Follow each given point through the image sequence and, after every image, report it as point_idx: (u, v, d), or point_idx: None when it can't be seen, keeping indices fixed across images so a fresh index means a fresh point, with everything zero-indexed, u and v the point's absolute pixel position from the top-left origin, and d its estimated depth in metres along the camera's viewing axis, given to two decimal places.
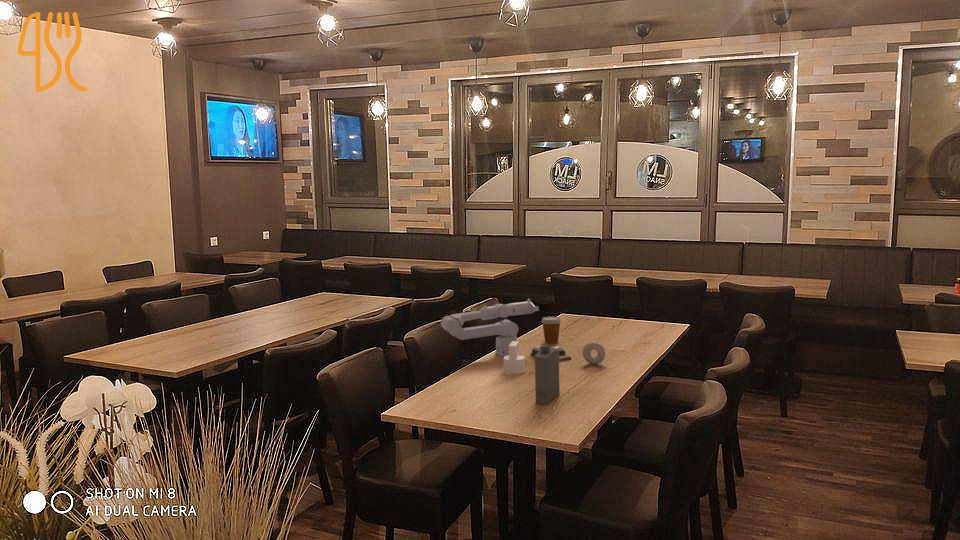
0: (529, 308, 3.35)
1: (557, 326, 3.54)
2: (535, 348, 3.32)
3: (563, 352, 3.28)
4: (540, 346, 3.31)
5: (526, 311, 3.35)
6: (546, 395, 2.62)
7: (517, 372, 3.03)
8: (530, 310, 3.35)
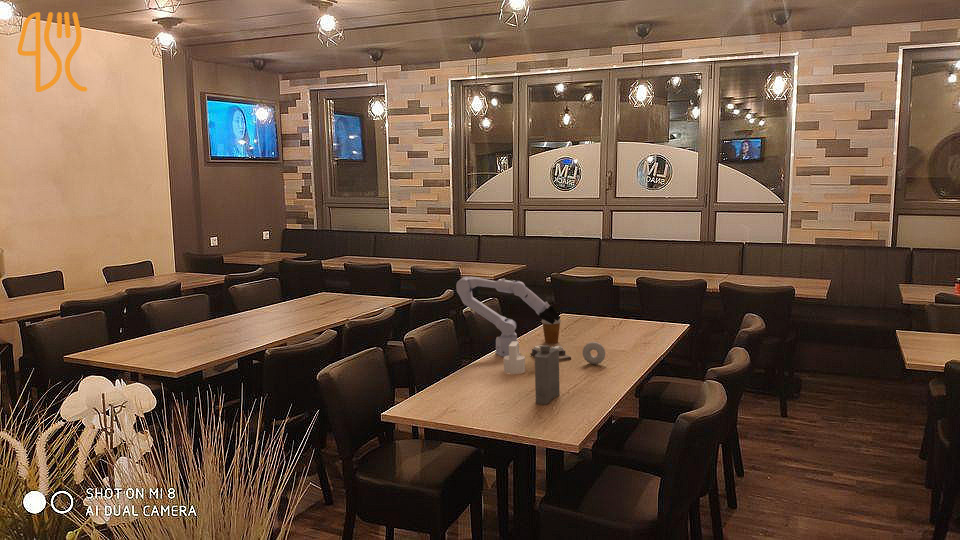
0: (541, 305, 3.29)
1: (557, 326, 3.54)
2: (535, 348, 3.32)
3: (563, 352, 3.28)
4: (540, 346, 3.31)
5: (537, 305, 3.29)
6: (546, 395, 2.62)
7: (517, 372, 3.03)
8: (540, 307, 3.29)
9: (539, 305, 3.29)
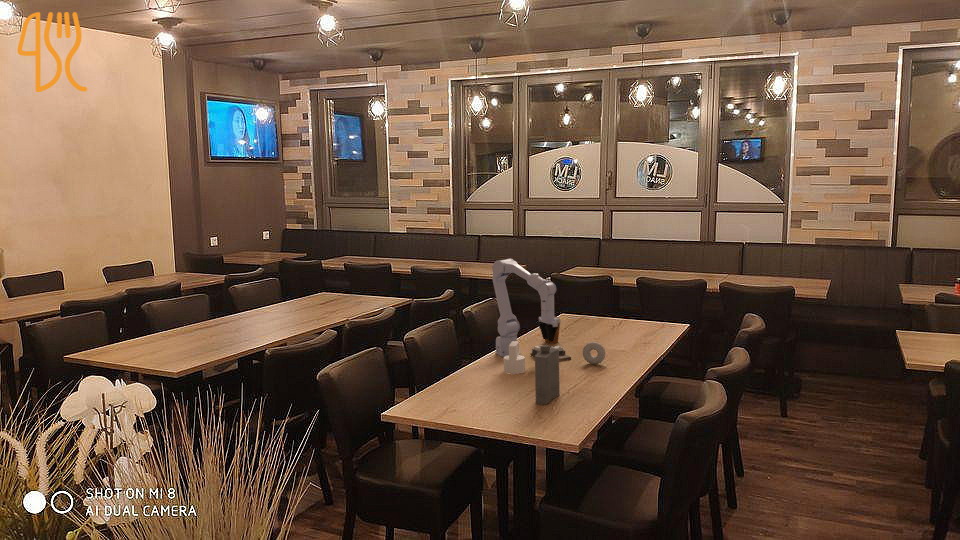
0: (550, 318, 3.18)
1: None
2: (535, 348, 3.32)
3: (563, 352, 3.28)
4: (540, 346, 3.31)
5: (547, 315, 3.18)
6: (546, 395, 2.62)
7: (517, 372, 3.03)
8: (548, 320, 3.18)
9: (549, 317, 3.18)
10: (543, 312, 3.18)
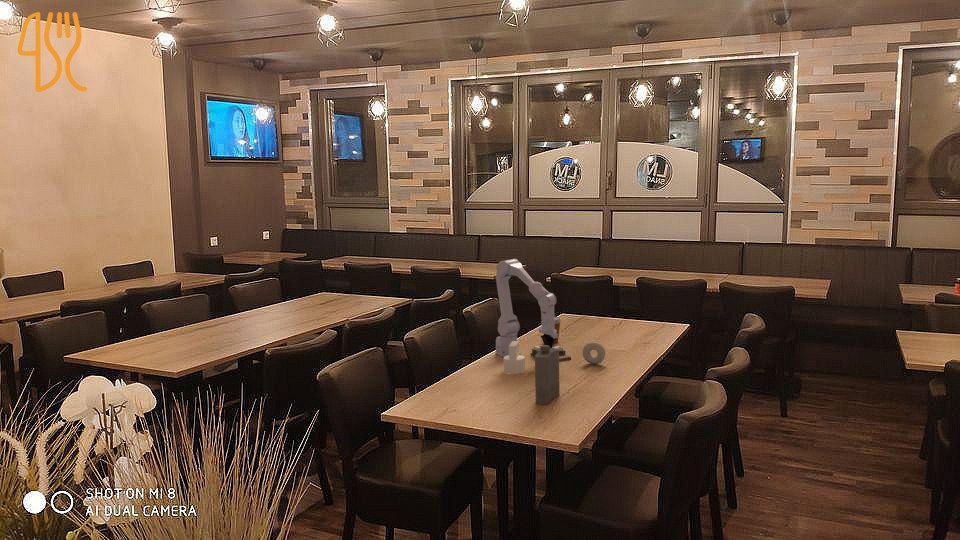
0: (550, 330, 3.19)
1: (557, 326, 3.54)
2: (535, 348, 3.32)
3: (563, 352, 3.28)
4: (540, 346, 3.31)
5: (547, 327, 3.18)
6: (546, 395, 2.62)
7: (517, 372, 3.03)
8: (548, 331, 3.19)
9: (549, 328, 3.19)
10: (543, 323, 3.19)
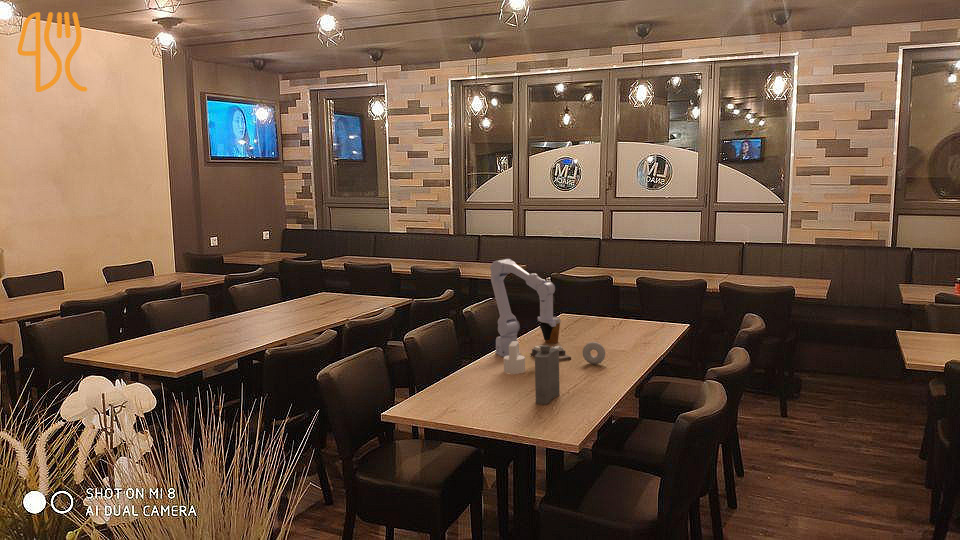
0: (549, 318, 3.19)
1: (557, 326, 3.54)
2: (535, 348, 3.32)
3: (563, 352, 3.28)
4: (540, 346, 3.31)
5: (546, 315, 3.19)
6: (546, 395, 2.62)
7: (517, 372, 3.03)
8: (547, 320, 3.19)
9: (547, 317, 3.19)
10: (542, 312, 3.20)
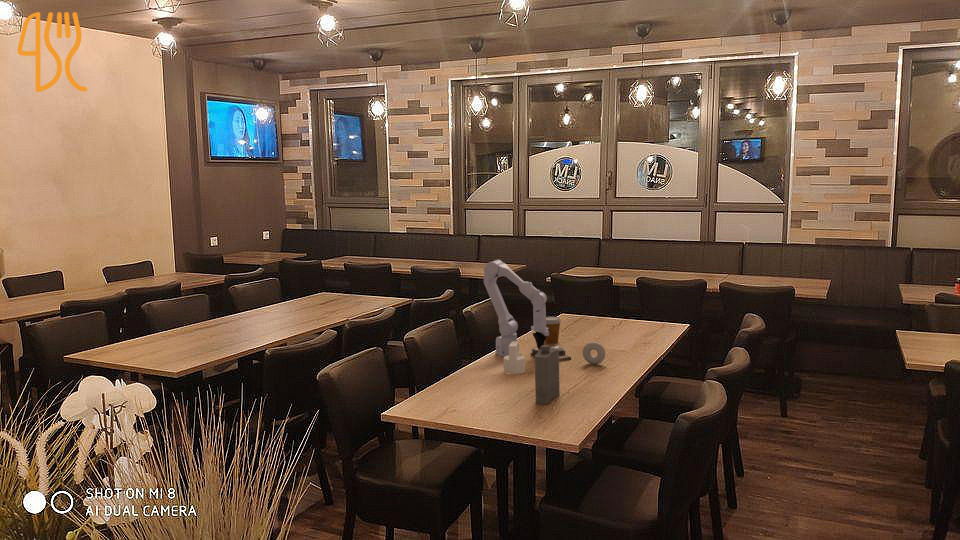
0: (542, 328, 3.28)
1: (557, 326, 3.54)
2: None
3: (563, 352, 3.28)
4: None
5: (539, 325, 3.27)
6: (546, 395, 2.62)
7: (517, 372, 3.03)
8: (540, 329, 3.27)
9: (540, 326, 3.27)
10: (535, 321, 3.28)
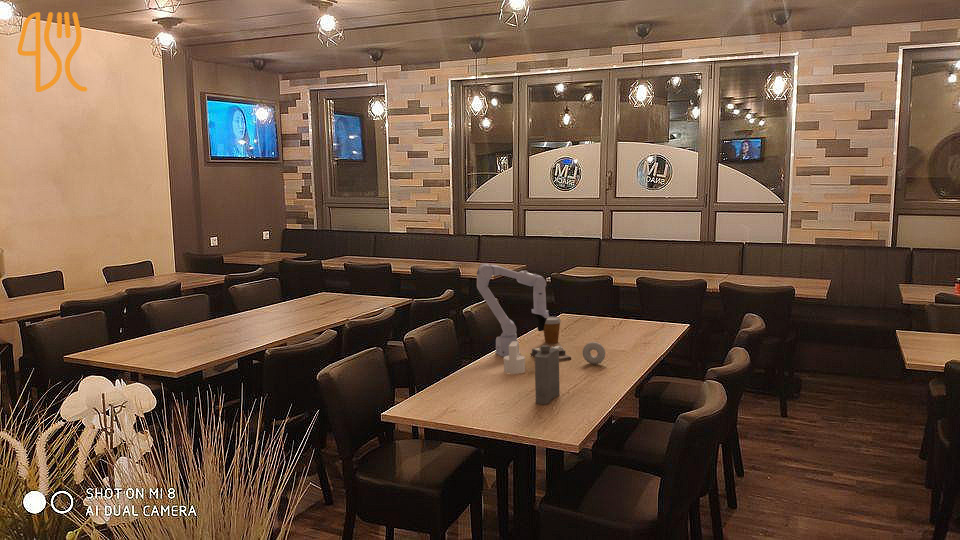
0: (542, 310, 3.33)
1: (557, 326, 3.54)
2: None
3: (563, 352, 3.28)
4: None
5: (539, 307, 3.33)
6: (546, 395, 2.62)
7: (517, 372, 3.03)
8: (540, 311, 3.33)
9: (541, 309, 3.33)
10: (535, 304, 3.33)
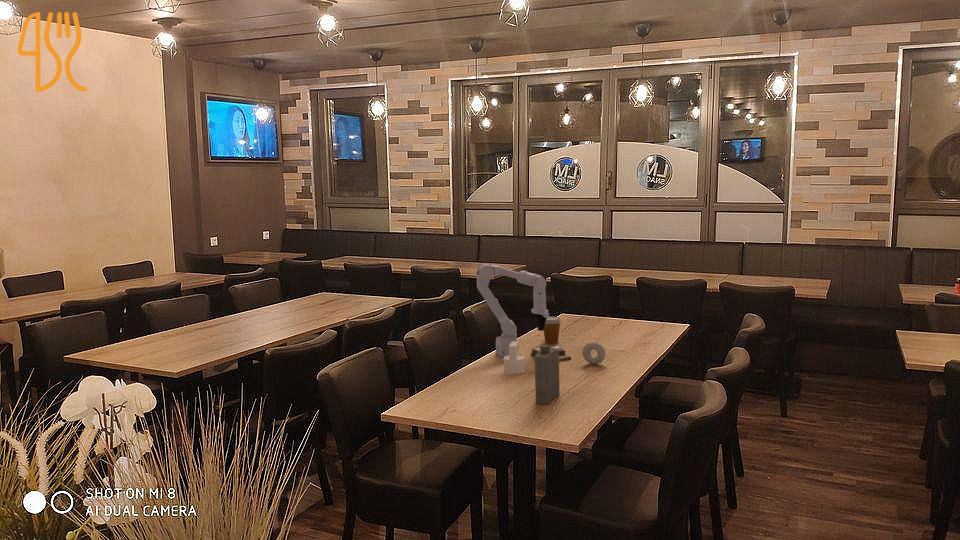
0: (542, 310, 3.33)
1: (557, 326, 3.54)
2: None
3: (563, 352, 3.28)
4: None
5: (539, 307, 3.33)
6: (546, 395, 2.62)
7: (517, 372, 3.03)
8: (540, 311, 3.33)
9: (541, 309, 3.33)
10: (535, 304, 3.34)
